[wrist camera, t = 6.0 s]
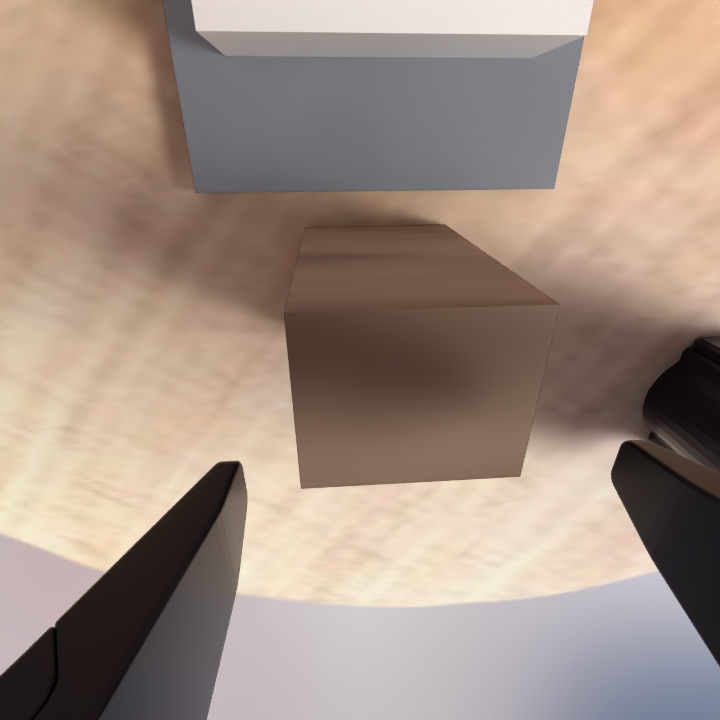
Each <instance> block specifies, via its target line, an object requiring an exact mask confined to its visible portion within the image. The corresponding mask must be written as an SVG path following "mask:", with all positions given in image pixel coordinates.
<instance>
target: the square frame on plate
mask: <svg viewBox="0 0 720 720" xmlns="http://www.w3.org/2000/svg"><path fill="white" fill-rule="evenodd" d="M593 1H594V0H162V3H163V9H164V14H165V20H166V26H167V32H168V37H169V43H170V49H171V54H172V60H173V66H174V71H175V77H176V83H177V89H178V94H179V100H180V106H181V111H182V117H183V123H184V128H185V134H186V140H187V146H188V151H189V157H190V163H191V168H192V174H193V180H194V186H195V191H196V193H243V192H328V191H414V190H499V189H554V187H555V182H556V177H557V172H558V167H559V162H560V157H561V151H562V146H563V141H564V136H565V131H566V126H567V121H568V116H569V111H570V106H571V101H572V96H573V91H574V86H575V81H576V76H577V71H578V66H579V60H580V55H581V50H582V45H583V40H584V36H586V35H587V31H588V26H589V21H590V16H591V11H592V6H593Z"/></svg>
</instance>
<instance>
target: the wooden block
mask: <svg viewBox="0 0 720 720" xmlns="http://www.w3.org/2000/svg"><path fill="white" fill-rule="evenodd" d="M559 306H560V304H558V303H557V302H555V301H554V300H552V299H551V298H550V297H548V296H547V295H545V294H544V293H542V292H541V291H540V290H538V289H537V288H535V287H534V286H532V285H531V284H530V283H528V282H527V281H525V280H524V279H522V278H521V277H520V276H518V275H517V274H515V273H514V272H512V271H511V270H509V269H508V268H507V267H505V266H504V265H502V264H501V263H499V262H498V261H497V260H495V259H494V258H492V257H491V256H489V255H488V254H487V253H485V252H484V251H482V250H481V249H479V248H478V247H476V246H475V245H474V244H472V243H471V242H469V241H468V240H466V239H465V238H464V237H462V236H461V235H459V234H458V233H456V232H455V231H454V230H452V229H451V228H449V227H448V226H446V225H405V226H351V227H306V228H305V232H304V236H303V240H302V244H301V248H300V252H299V256H298V260H297V264H296V268H295V272H294V275H293V279H292V283H291V287H290V291H289V295H288V299H287V303H286V307H285V311H284V319H285V329H286V339H287V350H288V360H289V370H290V381H291V391H292V401H293V412H294V422H295V432H296V442H297V453H298V463H299V473H300V484H301V489H305V488H323V487H341V486H359V485H377V484H396V483H414V482H432V481H450V480H468V479H486V478H504V477H520V475H521V471H522V466H523V462H524V458H525V453H526V449H527V445H528V440H529V436H530V432H531V427H532V423H533V419H534V414H535V410H536V406H537V401H538V397H539V393H540V388H541V384H542V380H543V375H544V371H545V366H546V362H547V358H548V353H549V349H550V345H551V340H552V336H553V332H554V327H555V323H556V319H557V314H558V310H559Z"/></svg>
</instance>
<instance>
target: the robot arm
mask: <svg viewBox="0 0 720 720" xmlns="http://www.w3.org/2000/svg"><path fill="white" fill-rule="evenodd" d="M643 418H644V421H645V423H646V425H647V426H648V428H649V429H650V430H651V433H650V436H649V441H648V440H628V441H625V442H623V443H622V444H621V446H620V449H619V451H618V454H617V457H616V460H615V462H614V465H613V468H612V471H611V479H612V483H613V485H614V487H615V489H616V491H617V493H618V495H619V497H620V499H621V501H622V503H623V505H624V507H625V509H626V511H627V513H628V515H629V517H630V519H631V521H632V523H633V525H634V526H635V528H636V530H637V532H638V534H639V536H640V538H641V540H642V542H643V544H644V546H645V548H646V550H647V551H648V553H649V555H650V557H651V559H652V560H653V562H654V564H655V565H656V567H657V569H658V570H659V572H660V573H661V575H662V576H663V578H664V580H665V581H666V583H667V584H668V586H669V587H670V589H671V591H672V592H673V594H674V595H675V597H676V599H677V600H678V602H679V603H680V605H681V607H682V608H683V610H684V611H685V613H686V614H687V616H688V618H689V619H690V621H691V622H692V624H693V626H694V627H695V629H696V630H697V632H698V633H699V635H700V637H701V638H702V640H703V641H704V643H705V644H706V646H707V648H708V649H709V651H710V652H711V654H712V656H713V657H714V659H715V660H716V662H717V664H718V665H719V667H720V337H701V338H699V339H696V340H695V342H694V344H693V347H689V348H686V349H685V350H684V351H683V353H682V356H681V358H680V360H679V361H678V362H677V363H676V364H674V365H673V366H671V367H670V368H669V369H667V370H666V371H665V372H664V373H663V374H662V375H661V376H660V377H659V378H658V379H657V380H656V381H655V382H654V384H653V385H652V387H651V388H650V390H649V391H648V393H647V395H646V397H645V400H644V404H643ZM246 512H247V489H246V484H245V478H244V472H243V467H242V464H241V463H240V462H239V461H224V462H219V463H217V464H216V465H214V466H213V467H212V468H211V469H210V470H209V471H208V472H207V473H206V474H205V475H204V476H203V477H202V478H201V479H200V480H199V481H198V482H197V483H196V484H195V485H194V486H193V487H192V488H191V489H190V490H189V491H188V492H187V493H186V494H185V495H184V496H183V497H182V498H181V499H180V500H179V501H178V502H177V503H176V504H175V505H174V506H173V507H172V508H171V509H170V510H169V511H168V512H167V513H166V514H165V515H164V516H163V517H162V518H161V519H160V520H159V521H158V522H157V523H156V524H155V525H154V526H153V527H152V528H151V529H150V530H149V531H148V532H146V533H145V534H144V535H143V536H142V537H141V538H140V539H139V540H138V541H137V542H136V543H135V544H134V545H133V546H132V547H131V548H130V549H129V550H128V551H127V552H126V553H125V554H124V555H123V556H122V557H121V558H120V559H119V560H118V561H117V562H116V563H115V564H114V565H113V566H112V567H111V568H110V569H109V570H108V571H107V572H106V573H105V574H104V575H103V576H102V577H101V578H100V579H99V580H98V581H97V582H96V583H95V584H94V585H93V586H92V587H91V588H90V589H89V590H88V591H87V592H86V593H85V594H84V595H83V596H82V597H81V598H80V599H79V600H78V601H77V602H76V603H75V604H73V605H72V606H71V607H70V608H69V610H67V612H65V613H64V614H63V615H62V616H61V617H60V619H58V620H57V621H56V623H55V627H50V628H49V629H48V630H47V631H46V632H45V633H44V634H43V635H42V636H41V637H40V638H39V639H38V640H37V641H36V642H35V643H34V644H33V645H32V646H31V647H30V648H29V649H28V650H27V651H26V652H25V653H23V654H22V655H21V656H20V657H19V658H18V659H17V660H16V661H15V662H14V663H13V664H12V665H11V666H10V667H9V668H8V669H7V670H6V671H5V672H4V673H3V674H2V675H0V720H207V716H208V712H209V707H210V703H211V699H212V695H213V690H214V686H215V682H216V677H217V673H218V669H219V664H220V660H221V656H222V651H223V647H224V643H225V639H226V634H227V630H228V626H229V621H230V617H231V613H232V608H233V604H234V599H235V595H236V590H237V585H238V578H239V571H240V563H241V554H242V546H243V537H244V529H245V520H246Z"/></svg>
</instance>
